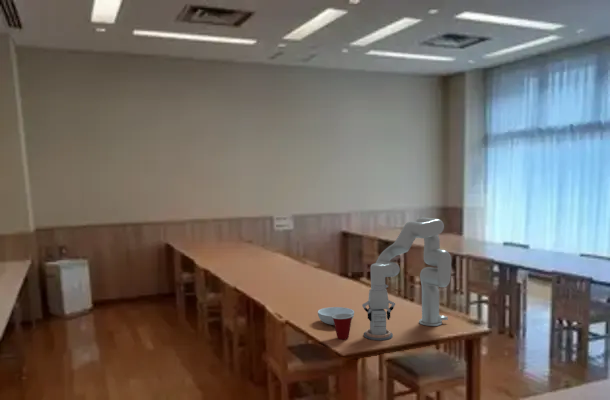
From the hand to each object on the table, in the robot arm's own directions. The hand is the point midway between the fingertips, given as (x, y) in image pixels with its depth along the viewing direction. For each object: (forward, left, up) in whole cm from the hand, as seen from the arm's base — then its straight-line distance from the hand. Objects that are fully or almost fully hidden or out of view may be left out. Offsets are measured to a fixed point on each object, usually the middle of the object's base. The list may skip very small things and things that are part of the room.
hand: (379, 319), depth 269 cm
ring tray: (+1, 0, -9) cm, 9 cm away
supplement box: (+1, 0, -8) cm, 8 cm away
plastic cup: (+20, +2, -9) cm, 22 cm away
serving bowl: (+20, -25, -9) cm, 33 cm away
